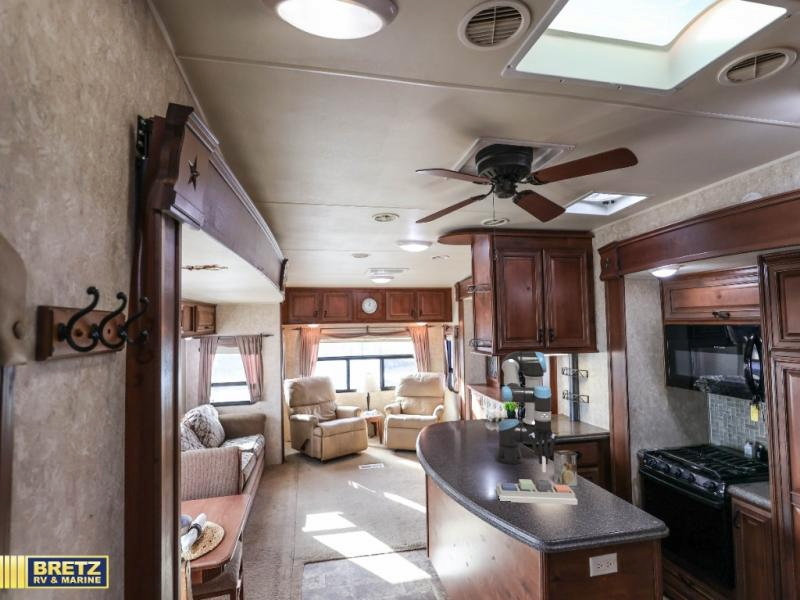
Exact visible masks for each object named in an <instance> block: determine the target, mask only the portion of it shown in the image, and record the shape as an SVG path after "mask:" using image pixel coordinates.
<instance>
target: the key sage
mask: <svg viewBox="0 0 800 600" xmlns="http://www.w3.org/2000/svg"><path fill="white" fill-rule="evenodd" d="M518 484H519V486H520V487H521V489H531V490H534V485H535V484H534V482H533V480H532V479H528V478H527V479H523V478H521V479H518Z"/></svg>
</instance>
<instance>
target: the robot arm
mask: <svg viewBox="0 0 800 600" xmlns="http://www.w3.org/2000/svg"><path fill="white" fill-rule="evenodd" d="M501 370H502V371H503V376H504V386H502V387H501V400H502V402H507V403H525V413H524V414H525V416H524V418H522V422H520V421H519V420H518V419H517V418H509V419H508V418H507V419H504V420H503V419H502V420H501V421H499V423H498V447H497V450H496V455H495V461H496V462H498V463H502V464H508V465H517V464H521V463H522V462H523V456H522V452H521V449H520V444H531V445H532V449H533V452H534V455H535V456H536V457H538V464H539V465H540V471H541V472H542V473H546V472H547V470H546V469H547V465H548V464H549V457H553V454H554V449H555V445H556V441H557V439H558V435H556V434H554V432H553V431H552V421H551V420H552V390H551V387H549V386H547V385H542V378H543V377H544V376H545V375H544V374H546V373H547V372H548V370H547V363H546V357H545V354H544V353H543V352H540V351H514V352H511V353H509V354H507V355H506V356H504V358H503V360H502V362H501ZM519 373H522V375H523V377H524V378H525V383H524V384H525V386H521V384H520V376H519ZM550 438H551V439H550ZM549 439H550V443H549ZM537 445H538V448H537ZM543 454H544V455H543Z"/></svg>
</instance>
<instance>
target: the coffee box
mask: <svg viewBox="0 0 800 600" xmlns="http://www.w3.org/2000/svg"><path fill="white" fill-rule="evenodd" d="M577 463H578V462H577V453H576V452H574V451H572V450H569V449H565V450H553V471H554V472H553V473H554V474H553V475H554V479H553V481H554V485H566V486H569V487H577V486H578V470H577V469H578V465H577Z"/></svg>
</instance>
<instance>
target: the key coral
mask: <svg viewBox="0 0 800 600" xmlns="http://www.w3.org/2000/svg"><path fill="white" fill-rule="evenodd" d="M553 485H554V490H555V492H556V493H570V490H569V488H568V487H567V486H566V485H557V484H553Z"/></svg>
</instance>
